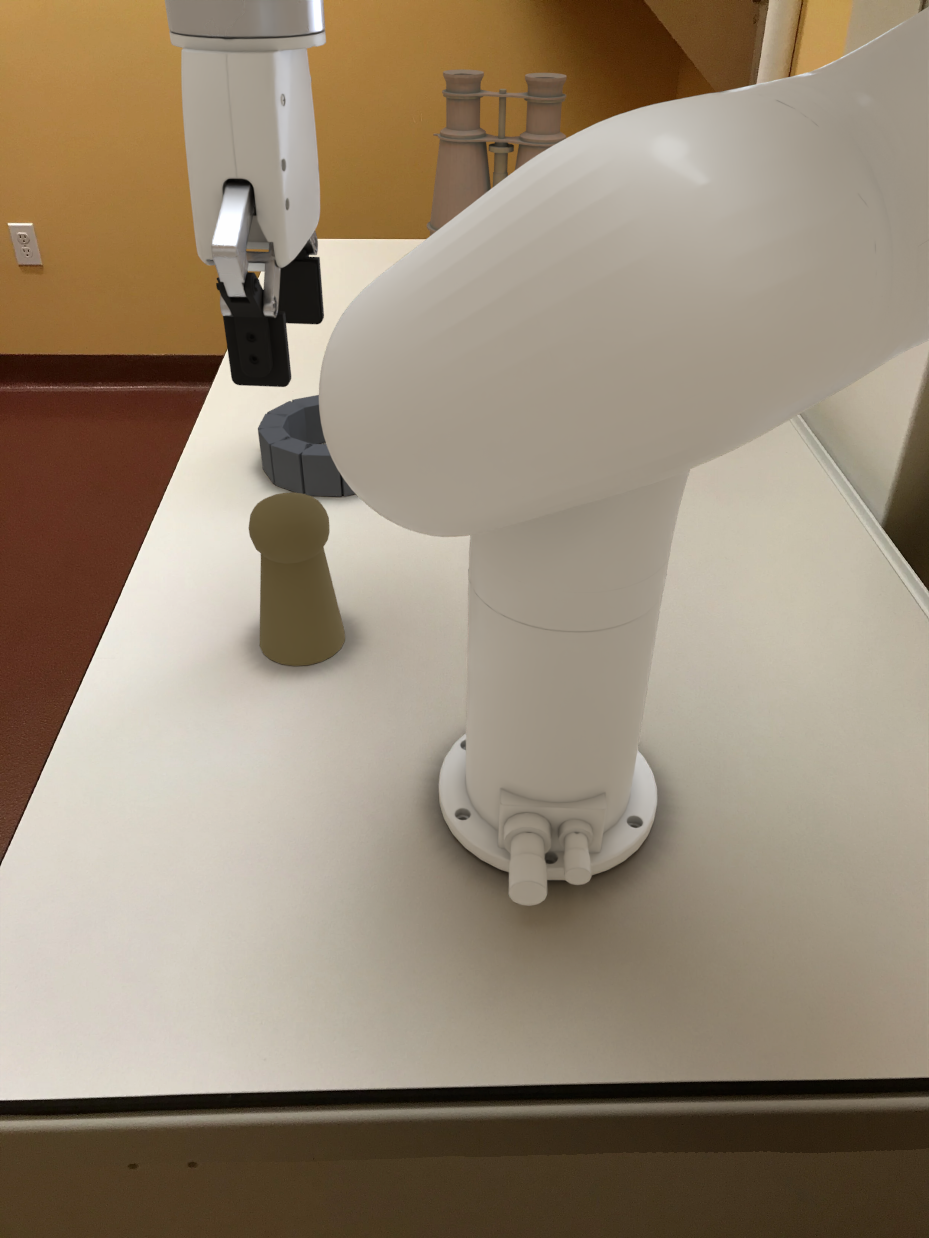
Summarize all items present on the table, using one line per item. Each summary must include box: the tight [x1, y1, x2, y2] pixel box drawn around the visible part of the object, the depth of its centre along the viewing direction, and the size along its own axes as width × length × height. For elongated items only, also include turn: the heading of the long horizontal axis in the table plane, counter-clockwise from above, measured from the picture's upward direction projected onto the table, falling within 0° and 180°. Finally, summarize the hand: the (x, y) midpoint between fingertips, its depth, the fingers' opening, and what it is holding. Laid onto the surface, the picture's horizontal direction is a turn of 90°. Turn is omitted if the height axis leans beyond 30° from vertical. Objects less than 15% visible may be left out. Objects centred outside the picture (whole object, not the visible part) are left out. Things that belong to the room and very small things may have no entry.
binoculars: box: [426, 68, 568, 237], centre depth 129 cm, size 21×10×25 cm, turn 77°
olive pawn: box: [248, 491, 346, 667], centre depth 65 cm, size 6×6×11 cm
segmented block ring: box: [257, 394, 356, 498], centre depth 88 cm, size 13×13×4 cm
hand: (281, 351), depth 57 cm, fingers open, 9 cm apart
